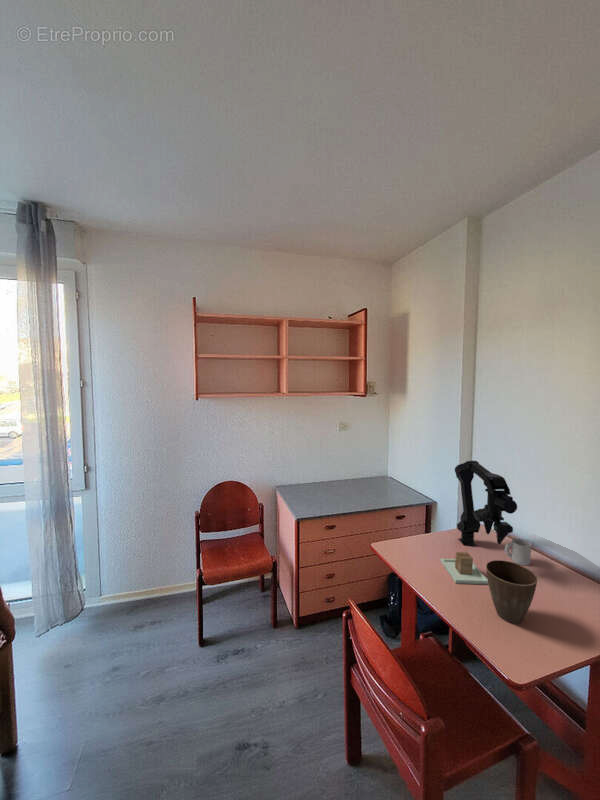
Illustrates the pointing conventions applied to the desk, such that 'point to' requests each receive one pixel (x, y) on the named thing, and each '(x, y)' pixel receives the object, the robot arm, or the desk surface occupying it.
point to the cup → (519, 551)
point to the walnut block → (463, 563)
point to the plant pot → (511, 589)
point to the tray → (463, 578)
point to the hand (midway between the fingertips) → (493, 538)
